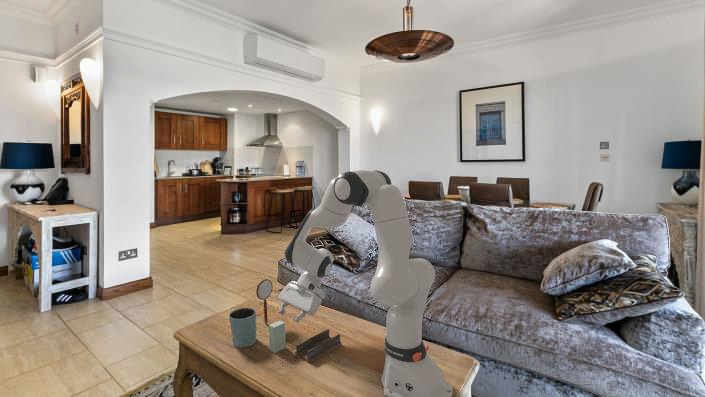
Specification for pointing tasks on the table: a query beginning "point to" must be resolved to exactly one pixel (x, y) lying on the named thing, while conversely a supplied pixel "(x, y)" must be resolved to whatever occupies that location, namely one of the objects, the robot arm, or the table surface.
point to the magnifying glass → (264, 294)
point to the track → (317, 346)
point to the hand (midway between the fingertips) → (287, 317)
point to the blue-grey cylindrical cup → (243, 327)
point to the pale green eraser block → (277, 336)
